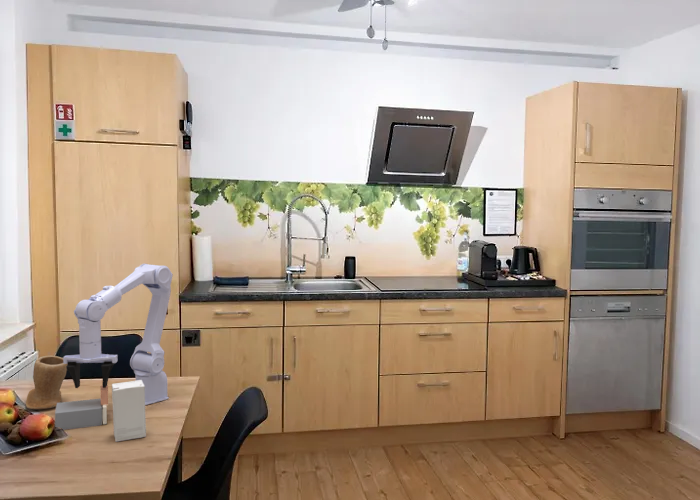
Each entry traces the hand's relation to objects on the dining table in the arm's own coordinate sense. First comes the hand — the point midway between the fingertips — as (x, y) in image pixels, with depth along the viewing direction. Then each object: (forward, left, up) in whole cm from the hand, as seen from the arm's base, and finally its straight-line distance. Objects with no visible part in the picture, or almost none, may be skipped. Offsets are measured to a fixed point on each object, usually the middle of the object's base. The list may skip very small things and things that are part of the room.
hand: (91, 386), depth 174 cm
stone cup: (+2, -24, -10) cm, 26 cm away
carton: (+3, -1, -10) cm, 11 cm away
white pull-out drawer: (+2, -1, -10) cm, 10 cm away
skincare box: (-1, +18, -10) cm, 21 cm away
